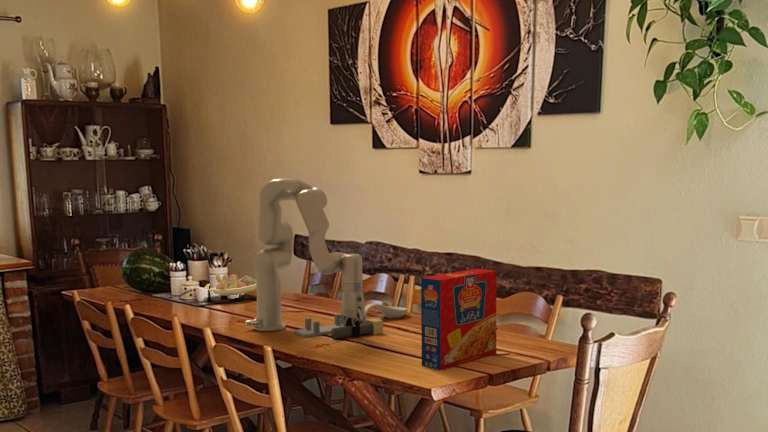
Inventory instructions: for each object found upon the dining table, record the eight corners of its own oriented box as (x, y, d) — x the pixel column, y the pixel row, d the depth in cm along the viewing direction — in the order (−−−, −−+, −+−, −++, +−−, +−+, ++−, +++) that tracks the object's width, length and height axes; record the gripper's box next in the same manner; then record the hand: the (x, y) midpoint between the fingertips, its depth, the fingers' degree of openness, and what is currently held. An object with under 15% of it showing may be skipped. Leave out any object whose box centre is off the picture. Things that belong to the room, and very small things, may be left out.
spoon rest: (394, 313, 299) (394, 296, 299) (413, 317, 290) (413, 300, 290) (352, 321, 283) (352, 303, 283) (371, 325, 275) (370, 307, 274)
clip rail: (304, 337, 254) (303, 324, 254) (293, 332, 261) (293, 320, 261) (365, 328, 269) (365, 315, 268) (354, 324, 276) (353, 311, 276)
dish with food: (203, 305, 319) (202, 275, 319) (202, 295, 346) (202, 267, 346) (263, 302, 327) (263, 272, 326) (258, 292, 354) (257, 265, 353)
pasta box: (440, 370, 209) (440, 280, 207) (421, 365, 215) (421, 277, 213) (496, 353, 228) (496, 270, 227) (477, 349, 234) (477, 268, 232)
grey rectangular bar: (337, 340, 249) (337, 327, 248) (330, 337, 253) (330, 324, 252) (383, 333, 260) (382, 320, 259) (376, 330, 264) (376, 318, 263)
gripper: (372, 289, 249) (373, 338, 250) (349, 283, 263) (349, 330, 264) (355, 291, 245) (355, 341, 246) (332, 285, 259) (332, 332, 260)
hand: (352, 335), depth 255 cm, fingers closed on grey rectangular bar, 4 cm apart
